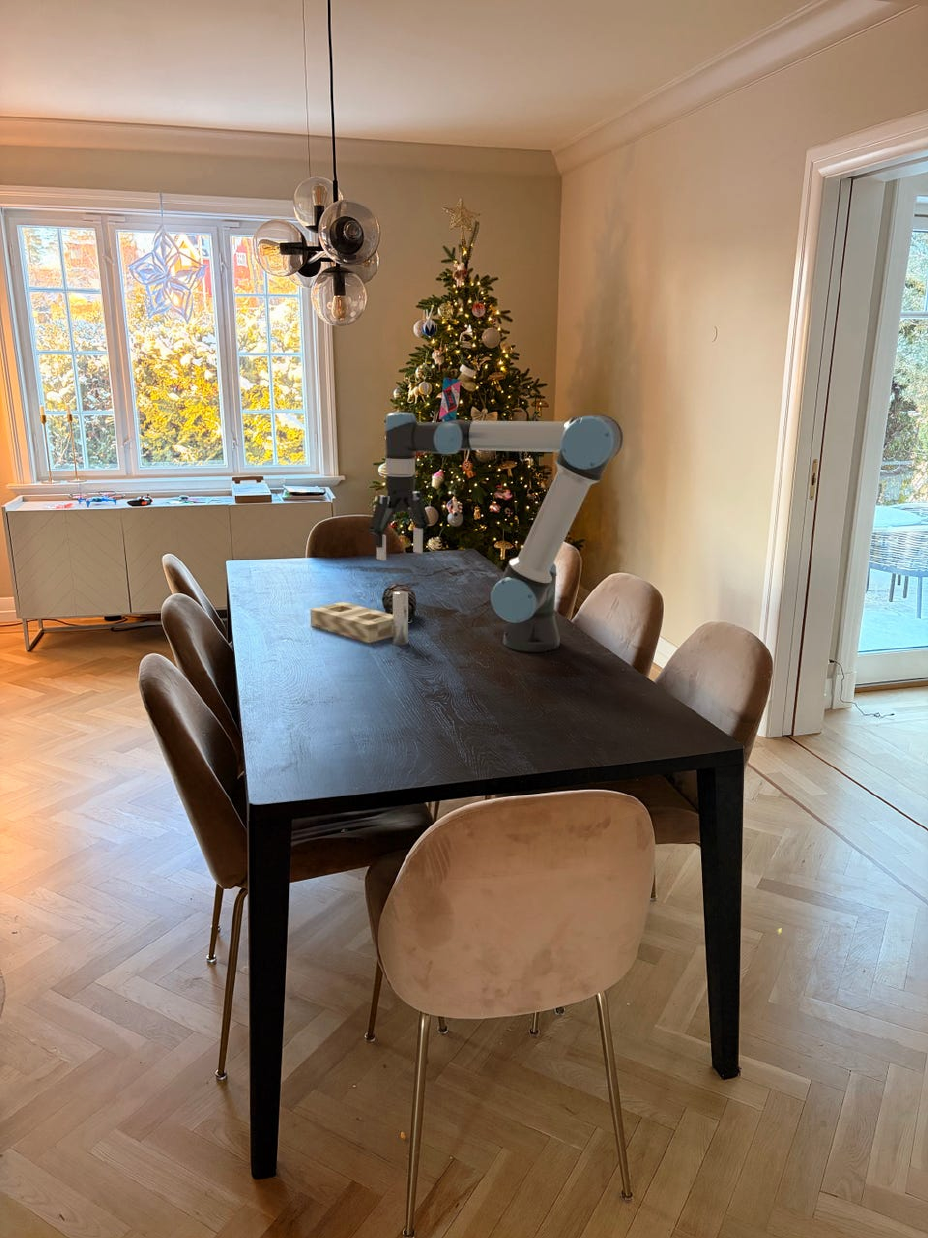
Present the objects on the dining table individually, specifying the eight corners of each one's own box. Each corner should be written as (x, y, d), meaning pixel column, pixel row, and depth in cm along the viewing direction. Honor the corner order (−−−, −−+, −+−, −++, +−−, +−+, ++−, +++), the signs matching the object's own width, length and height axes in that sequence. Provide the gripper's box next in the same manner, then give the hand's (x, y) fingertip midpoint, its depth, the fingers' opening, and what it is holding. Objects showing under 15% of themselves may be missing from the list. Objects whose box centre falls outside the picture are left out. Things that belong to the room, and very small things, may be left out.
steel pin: (411, 643, 241) (411, 592, 237) (400, 646, 238) (400, 595, 234) (400, 640, 243) (400, 590, 239) (390, 643, 240) (389, 592, 236)
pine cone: (390, 628, 254) (390, 594, 252) (378, 612, 271) (378, 580, 268) (425, 626, 257) (426, 592, 254) (411, 610, 274) (412, 578, 271)
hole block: (400, 634, 249) (400, 616, 247) (368, 643, 240) (368, 625, 238) (342, 618, 264) (342, 601, 262) (310, 626, 255) (310, 609, 253)
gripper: (423, 470, 240) (422, 547, 246) (354, 476, 222) (355, 560, 227) (443, 472, 235) (442, 551, 241) (374, 479, 217) (375, 565, 223)
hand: (400, 556), depth 234 cm, fingers open, 13 cm apart
